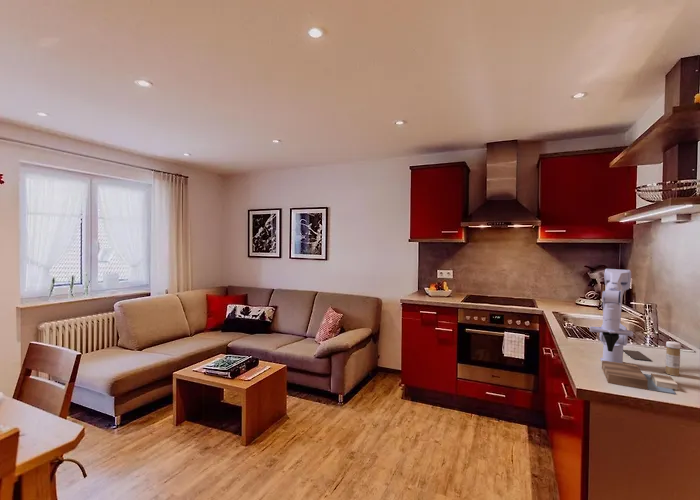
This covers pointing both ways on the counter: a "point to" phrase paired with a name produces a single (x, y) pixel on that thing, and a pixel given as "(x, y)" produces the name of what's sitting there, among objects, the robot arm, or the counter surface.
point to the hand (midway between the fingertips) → (610, 350)
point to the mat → (654, 388)
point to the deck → (624, 374)
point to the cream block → (664, 381)
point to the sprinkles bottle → (673, 358)
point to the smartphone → (637, 355)
